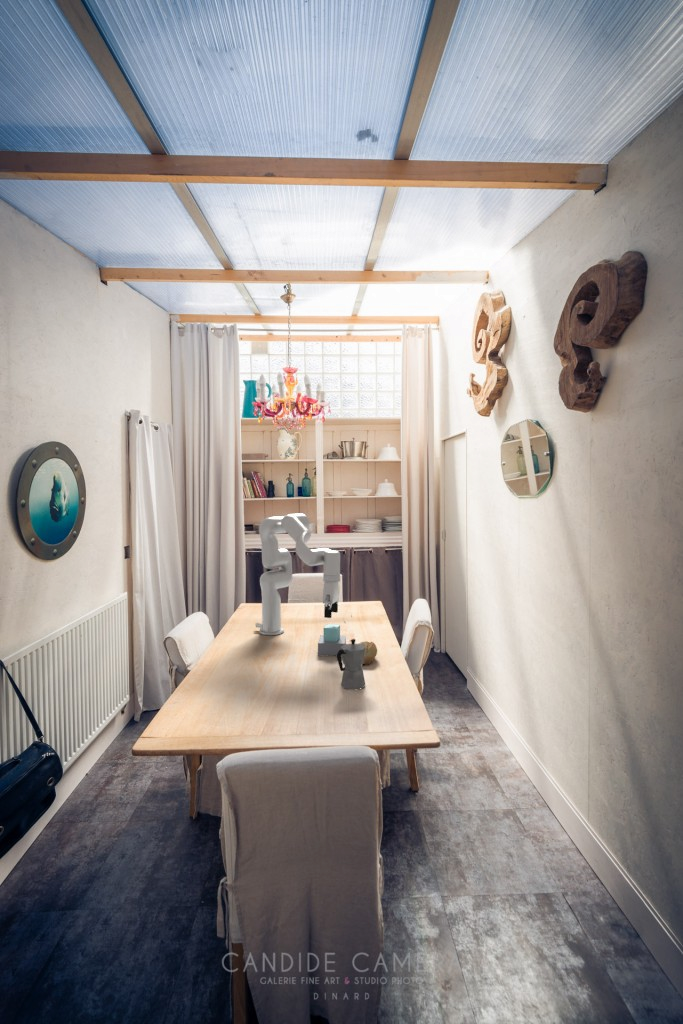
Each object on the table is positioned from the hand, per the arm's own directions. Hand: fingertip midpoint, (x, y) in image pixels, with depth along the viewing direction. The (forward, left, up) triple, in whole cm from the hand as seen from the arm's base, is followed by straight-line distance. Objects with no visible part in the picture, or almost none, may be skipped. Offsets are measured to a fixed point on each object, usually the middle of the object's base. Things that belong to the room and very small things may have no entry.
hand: (331, 614), depth 243 cm
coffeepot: (+19, -37, -17) cm, 45 cm away
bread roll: (+18, -7, -17) cm, 26 cm away
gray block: (+1, 0, -17) cm, 17 cm away
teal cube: (0, 0, -11) cm, 11 cm away
